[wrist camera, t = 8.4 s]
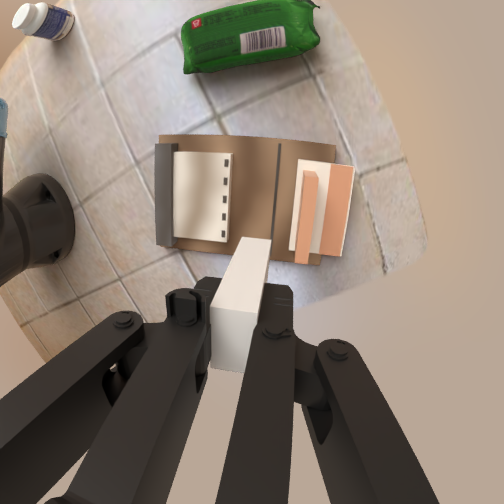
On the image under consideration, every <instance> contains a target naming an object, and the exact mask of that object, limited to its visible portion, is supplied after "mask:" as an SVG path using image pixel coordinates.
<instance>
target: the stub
mask: <svg viewBox="0 0 504 504" xmlns="http://www.w3.org/2000/svg"><path fill="white" fill-rule="evenodd" d="M354 172H355V167H353V166H348V165H341V164H334V163H327V162H319V161H311V160H303V159H298V166H297V177H296V187H295V197H294V206H293V215H292V225H291V233H290V242H289V250H292V251H295V263H300V264H308V257H309V253H317V254H323V255H332V256H341V255H342V250H343V244H344V239H345V233H346V227H347V221H348V215H349V208H350V202H351V195H352V188H353V180H354Z"/></svg>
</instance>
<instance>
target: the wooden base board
mask: <svg viewBox="0 0 504 504" xmlns="http://www.w3.org/2000/svg"><path fill="white" fill-rule="evenodd" d="M335 150H336V145H330V144H322V143H315V142H306V141H297V140H288V139H277V138H264V137H250V136H230V135H159V144H155V223H156V244H157V245H160V246H161V247H169V248H178V249H186V250H194V251H202V252H211V253H219V254H227V255H234V253H235V251H236V248H237V246H238V244H239V242H240V240H241V238H242V237H249V238H259V239H268V240H271V249H270V258H269V259H270V260H278V261H287V262H295V251H292V250H289V242H290V233H291V225H292V215H293V206H294V197H295V187H296V177H297V166H298V159H303V160H311V161H319V162H327V163H334V159H335ZM321 255H322V254H317V253H309V257H308V264H313V265H320V261H321Z"/></svg>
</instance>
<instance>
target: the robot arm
mask: <svg viewBox="0 0 504 504" xmlns="http://www.w3.org/2000/svg"><path fill="white" fill-rule="evenodd" d="M7 117H8V105H7V103H6V101H5V100H4V99H2V98H0V287H1V286H2V285H3V284H5V283H6V282H8V281H9V280H11V279H12V278H13V277H15V276H16V275H18V274H19V273H21V272H22V271H24V270H26V269H30V268H37V267H43V266H49V265H53V264H55V263H57V262H58V261H60V260H61V259H63V258H64V257H66V256H67V254H68V253H69V251H70V250H71V247H72V244H73V240H74V231H75V228H74V217H73V212H72V208H71V205H70V202H69V200H68V197H67V195H66V193H65V192H64V190H63V188H62V187H61V186H60V184H59V183H58V182H57V181H56V180H55V179H54V178H52V177H51V176H49V175H46V174H42V173H40V174H35V175H31V176H28V177H26V178H24V179H22V180H21V181H20V182H19V183H17V184H16V185H15V186H14V187H13V188H11V189H10V190H9V191H8V192H7V193H6V194H4V195H3V162H4V148H5V138H7V133H6V127H7ZM270 249H271V240H268V239H259V238H249V237H242V238H241V240H240V242H239V244H238V246H237V248H236V251H235V253H234V255H233V257H232V259H231V261H230V264H229V266H228V268H227V270H226V272H225V274H224V277H223V279H222V278H214V277H207V276H206V277H204V278H202V279H201V280H199V281H198V282H197V284H196V285H195V287H194V289H190V288H181V289H176V290H173V291H171V292H169V293H168V294H167V295H165V297H166V308H167V318H166V320H165V321H164V322H161V323H143V319H142V317H141V315H139V314H138V313H136V312H133V311H120V312H116V313H114V314H112V315H110V316H109V317H107V318H106V319H105V320H103V321H102V322H100V323H99V324H98V325H96V326H95V327H94V328H92V329H91V330H90V331H88V332H87V333H86V334H84V335H83V336H82V337H80V338H79V339H78V340H76V341H75V342H74V343H72V344H71V345H70V346H68V347H67V348H66V349H64V350H63V351H62V352H60V353H59V354H58V355H56V356H55V357H54V358H52V359H51V360H50V361H49V362H47V363H46V364H45V365H43V366H42V367H41V368H39V369H38V370H37V371H36V372H34V373H33V374H32V375H30V376H29V377H28V378H27V379H25V380H24V381H23V382H22V383H20V384H19V385H18V386H17V387H15V388H14V389H13V390H12V391H10V392H9V393H8V394H7V395H5V396H4V397H3V398H2V399H1V400H0V504H36V503H37V502H38V501H39V500H40V499H41V498H42V497H43V496H44V495H45V494H46V493H47V492H48V491H49V490H50V489H51V488H52V487H53V486H54V485H55V484H56V483H57V482H58V481H59V480H60V479H61V478H62V477H63V476H64V475H65V473H66V472H67V471H68V470H69V469H70V468H71V467H72V466H73V465H74V464H75V463H76V462H77V461H78V460H79V459H80V458H81V457H82V456H83V455H84V454H85V452H86V451H87V450H88V449H89V448H90V449H89V450H88V452H87V454H86V456H85V458H84V460H83V461H82V463H81V465H80V467H79V469H78V471H77V473H76V475H75V477H74V478H73V480H72V482H71V484H70V486H69V488H68V490H67V491H66V493H65V494H64V495H63V496H61V497H56V498H51V499H49V500H48V501H47V502H45V503H44V504H166V502H167V498H168V495H169V492H170V489H171V486H172V483H173V480H174V477H175V474H176V471H177V468H178V465H179V462H180V459H181V456H182V453H183V450H184V447H185V444H186V441H187V438H188V435H189V432H190V429H191V426H192V423H193V420H194V417H195V414H196V411H197V408H198V405H199V402H200V399H201V395H202V393H203V390H204V387H205V384H206V381H207V375H208V372H207V367H208V364H209V361H211V368H215V369H221V370H227V371H233V372H240V373H244V377H243V382H242V387H241V391H240V396H239V401H238V405H237V410H236V415H235V419H234V424H233V428H232V433H231V437H230V441H229V446H228V450H227V455H226V459H225V464H224V468H223V473H222V477H221V481H220V486H219V490H218V494H217V498H216V502H215V504H288V494H289V481H290V466H291V450H292V431H293V407H294V402H296V403H299V404H301V405H302V411H303V414H304V417H305V420H306V424H307V427H308V430H309V433H310V437H311V440H312V443H313V447H314V450H315V453H316V457H317V459H318V463H319V467H320V469H321V473H322V476H323V479H324V483H325V486H326V490H327V493H328V496H329V499H330V503H331V504H439V502H438V500H437V498H436V495H435V493H434V491H433V489H432V487H431V485H430V483H429V481H428V480H427V477H426V475H425V473H424V471H423V469H422V467H421V466H420V463H419V462H418V459H417V457H416V456H415V454H414V452H413V450H412V448H411V446H410V444H409V442H408V440H407V438H406V437H405V435H404V433H403V431H402V429H401V427H400V425H399V423H398V421H397V420H396V418H395V416H394V414H393V412H392V410H391V409H390V407H389V405H388V403H387V401H386V400H385V398H384V396H383V394H382V392H381V391H380V389H379V387H378V385H377V384H376V382H375V380H374V379H373V377H372V375H371V373H370V371H369V370H368V368H367V366H366V364H365V363H364V361H363V359H362V357H361V356H360V354H359V352H358V351H357V349H356V348H355V347H354V346H353V345H352V344H350V343H348V342H346V341H343V340H340V339H329V340H324V341H323V342H321V343H320V344H319V345H318V346H314V345H311V344H308V343H306V342H304V341H302V340H301V339H299V338H298V337H297V336H296V335H295V333H294V330H293V291H292V290H291V289H290V287H289V286H288V285H279V284H270V283H267V278H268V268H269V258H270ZM114 364H116V366H115V367H114V368H113V369H111V370H110V368H111V367H112V366H113V365H114Z"/></svg>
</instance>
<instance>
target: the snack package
mask: <svg viewBox="0 0 504 504" xmlns="http://www.w3.org/2000/svg"><path fill="white" fill-rule="evenodd" d="M315 7H318V8H319V9H320V6H316V5H315V4H314V3H313V2H312V1H311V0H257V1H252V2H247V3H243V4H238V5H233V6H228V7H225V8H221V9H217V10H214V11H210V12H207V13H203V14H200V15H197V16H195V17H192V18H190V19H189V20H188V21H187V22H185V24H184V25H183V26H182V29H181V40H182V44H183V49H184V68H183V71H184V74H192V73H211V72H215V71H219V70H222V69H227V68H231V67H235V66H240V65H247V64H254V63H260V62H266V61H271V60H276V59H281V58H287V57H293V56H297V55H300V54H302V53H304V52H306V51H308V50H310V49H312V48H314V47H316V46H317V45H318V44H319V43H320V37H319V35H318V33H317V32H316V30H315V27H314V25H313V9H314V8H315Z"/></svg>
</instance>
